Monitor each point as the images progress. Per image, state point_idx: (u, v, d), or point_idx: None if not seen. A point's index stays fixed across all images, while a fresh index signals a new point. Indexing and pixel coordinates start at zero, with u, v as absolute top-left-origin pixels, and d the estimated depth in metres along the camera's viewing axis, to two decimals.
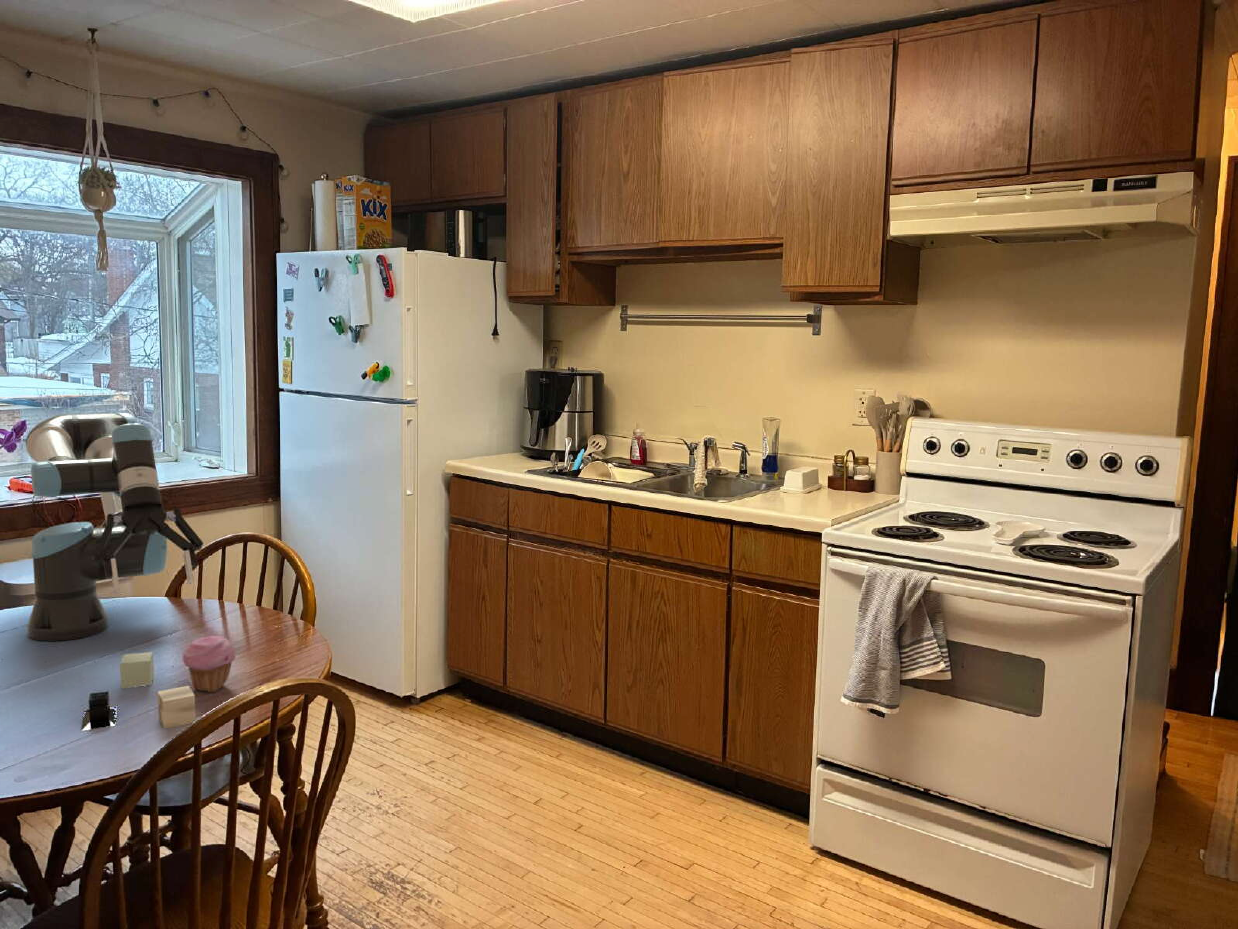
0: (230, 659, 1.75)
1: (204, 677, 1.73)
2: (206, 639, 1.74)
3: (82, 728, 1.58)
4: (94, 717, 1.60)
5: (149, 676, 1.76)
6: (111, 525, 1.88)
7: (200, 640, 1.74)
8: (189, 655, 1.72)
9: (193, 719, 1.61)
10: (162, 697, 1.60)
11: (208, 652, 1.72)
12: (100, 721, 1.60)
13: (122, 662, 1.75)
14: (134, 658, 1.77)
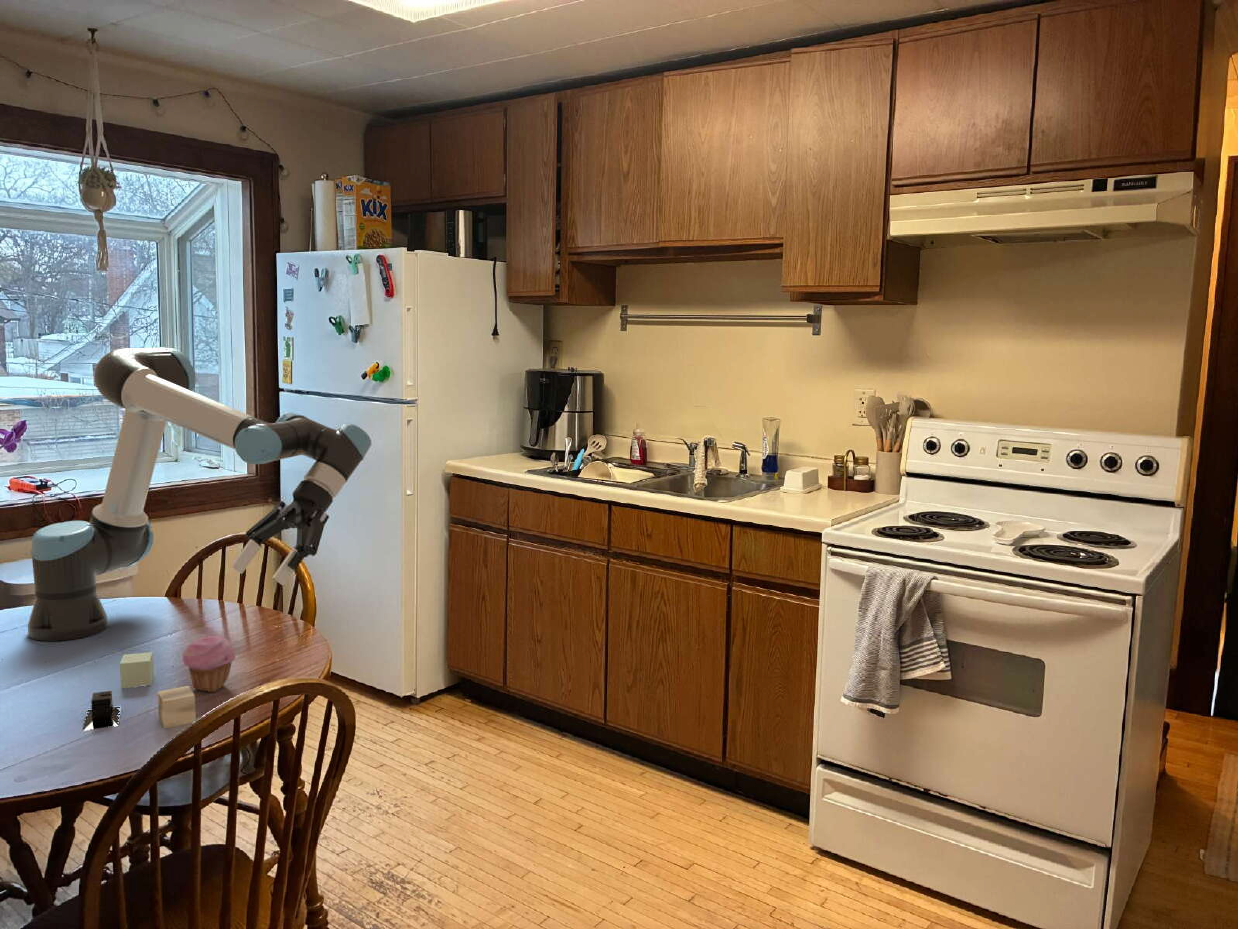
0: (230, 659, 1.75)
1: (204, 677, 1.73)
2: (206, 639, 1.74)
3: (84, 727, 1.58)
4: (97, 717, 1.60)
5: (149, 676, 1.76)
6: None
7: (200, 640, 1.74)
8: (189, 656, 1.72)
9: (193, 719, 1.61)
10: (162, 697, 1.60)
11: (208, 652, 1.72)
12: (102, 721, 1.60)
13: (122, 662, 1.75)
14: (134, 658, 1.77)
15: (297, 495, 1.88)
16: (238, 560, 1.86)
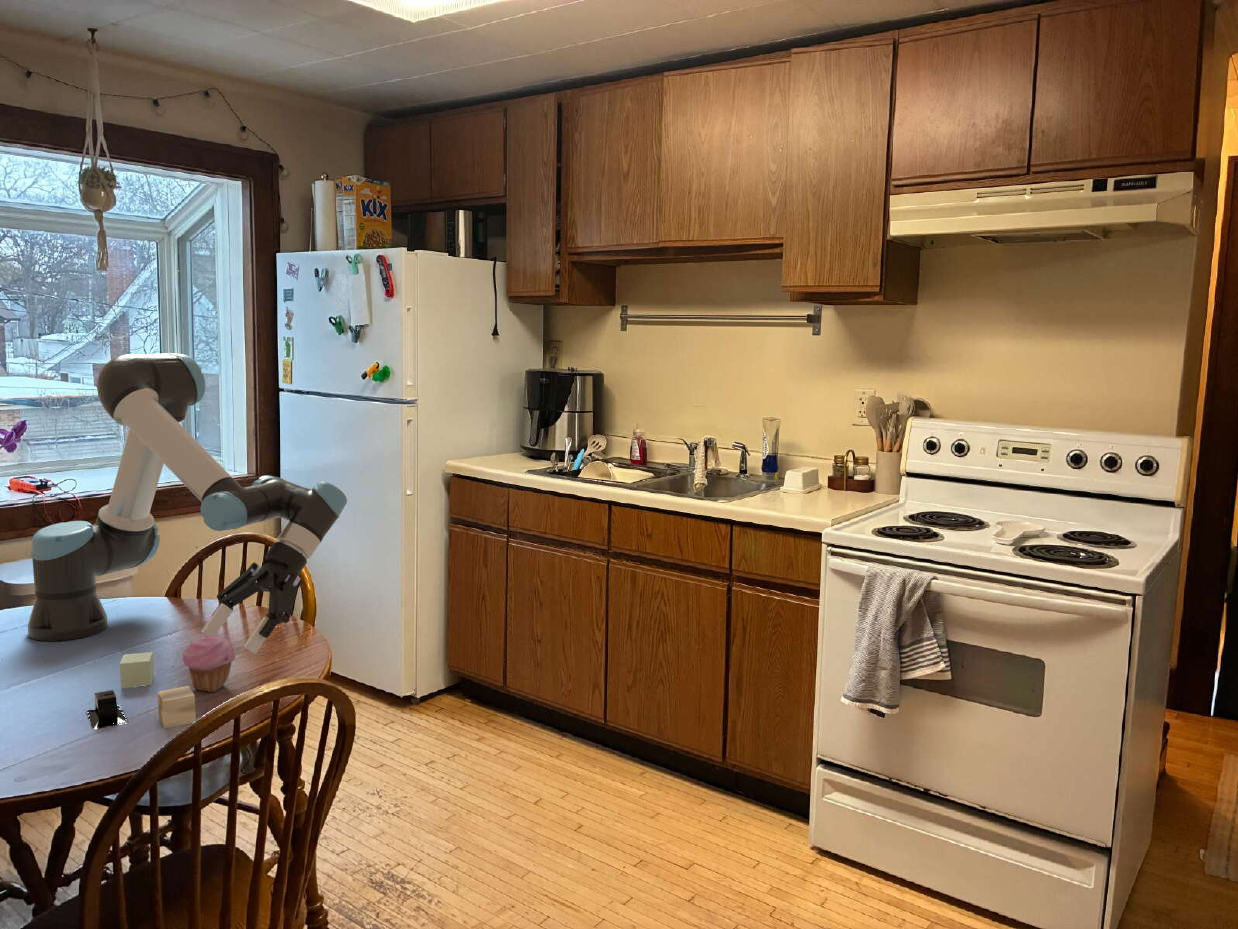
0: (230, 659, 1.75)
1: (204, 677, 1.73)
2: (206, 639, 1.74)
3: (93, 727, 1.58)
4: (103, 716, 1.61)
5: (149, 676, 1.76)
6: None
7: (200, 640, 1.74)
8: (189, 656, 1.72)
9: (193, 719, 1.61)
10: (162, 697, 1.60)
11: (208, 652, 1.72)
12: (109, 719, 1.61)
13: (122, 662, 1.75)
14: (134, 658, 1.77)
15: (270, 558, 1.83)
16: (209, 625, 1.81)
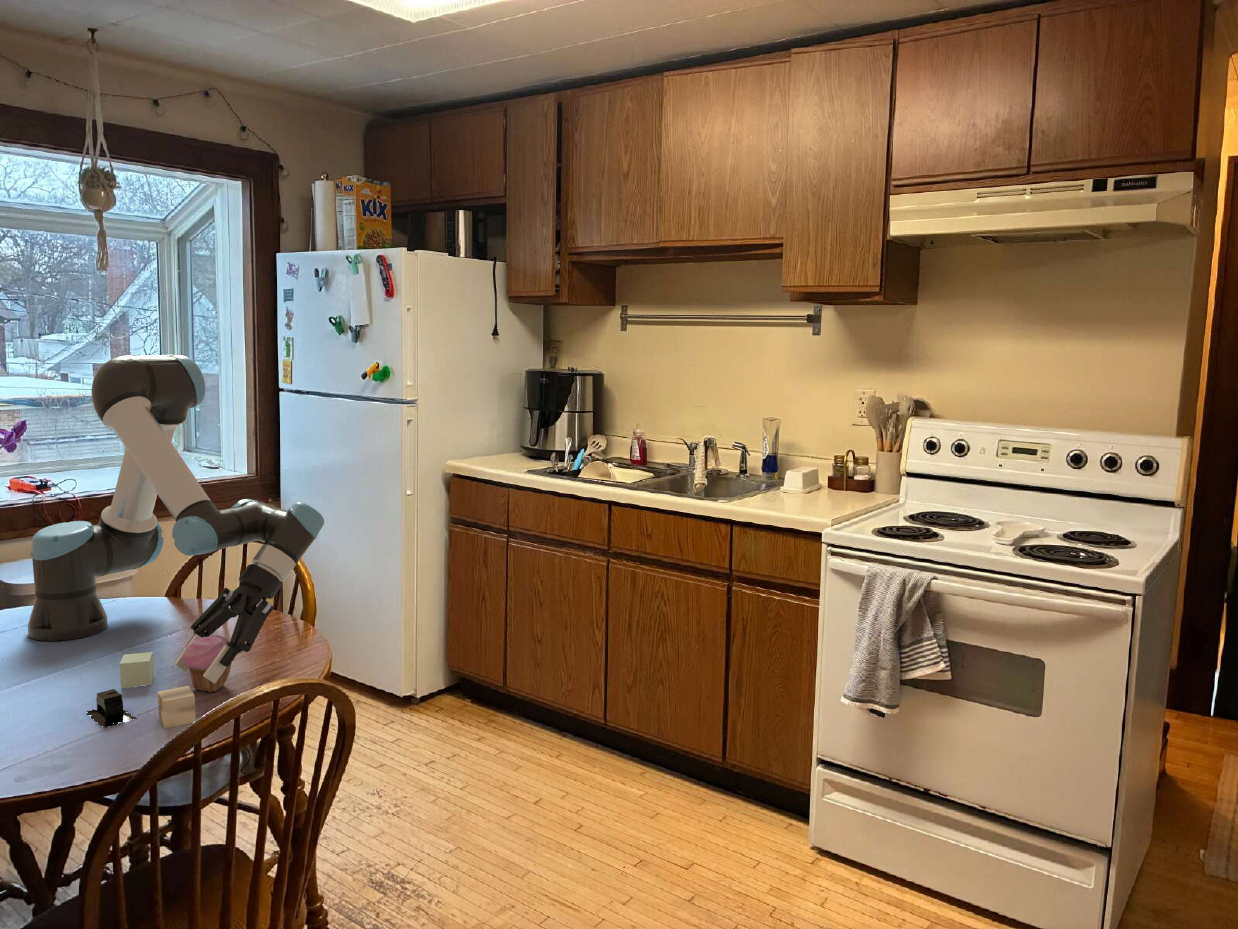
0: None
1: (204, 677, 1.73)
2: (206, 639, 1.74)
3: (103, 726, 1.59)
4: (110, 714, 1.61)
5: (149, 676, 1.76)
6: None
7: (200, 640, 1.74)
8: (189, 655, 1.72)
9: (193, 719, 1.61)
10: (162, 697, 1.60)
11: (208, 652, 1.72)
12: (116, 717, 1.62)
13: (122, 662, 1.75)
14: (134, 658, 1.77)
15: (243, 581, 1.80)
16: (182, 658, 1.76)
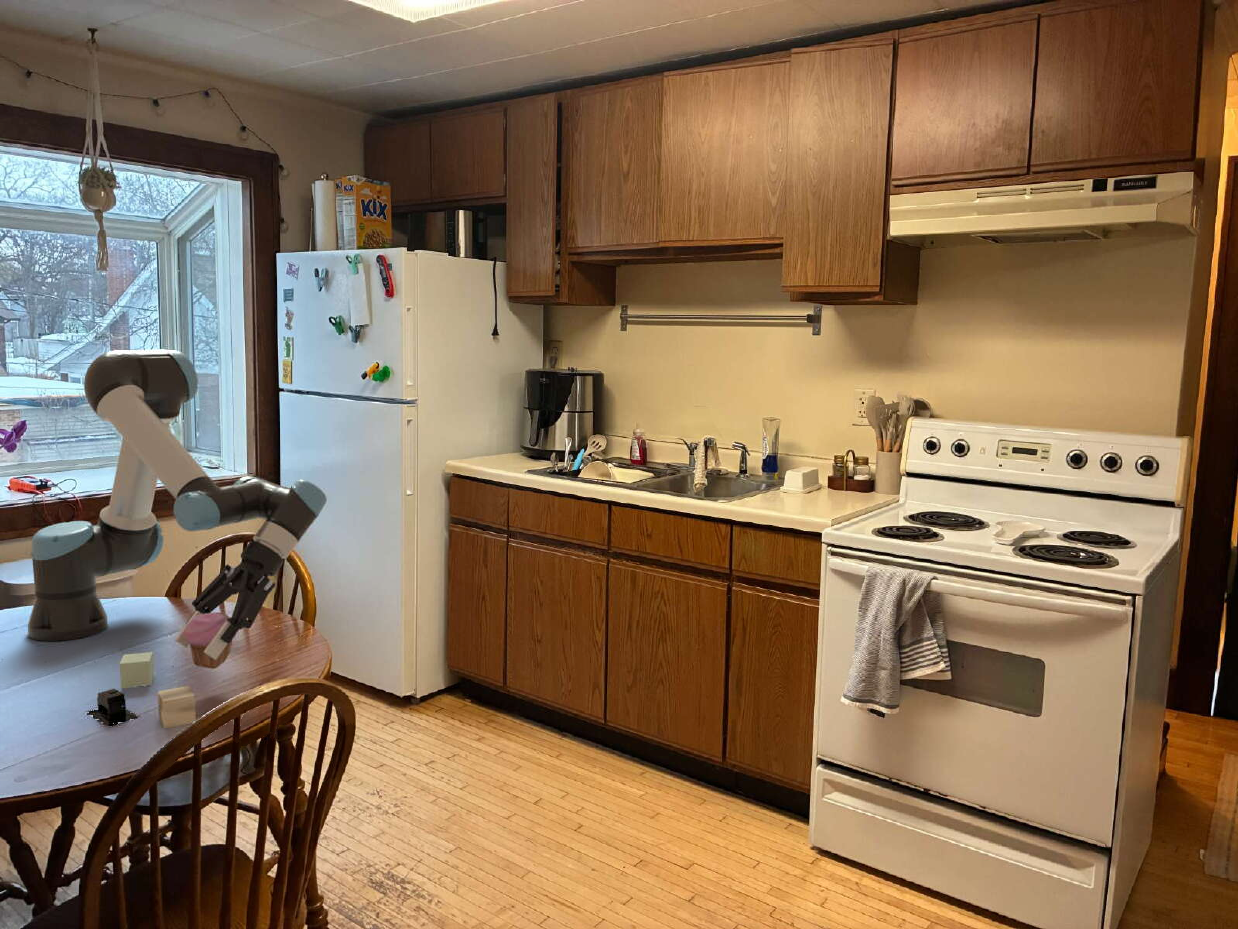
0: None
1: (205, 653, 1.72)
2: (207, 615, 1.73)
3: (107, 725, 1.59)
4: (113, 713, 1.62)
5: (149, 676, 1.76)
6: None
7: (201, 616, 1.73)
8: (190, 631, 1.71)
9: (193, 719, 1.61)
10: (162, 697, 1.60)
11: (209, 629, 1.71)
12: (119, 716, 1.62)
13: (122, 662, 1.75)
14: (134, 658, 1.77)
15: (245, 558, 1.79)
16: (182, 634, 1.75)
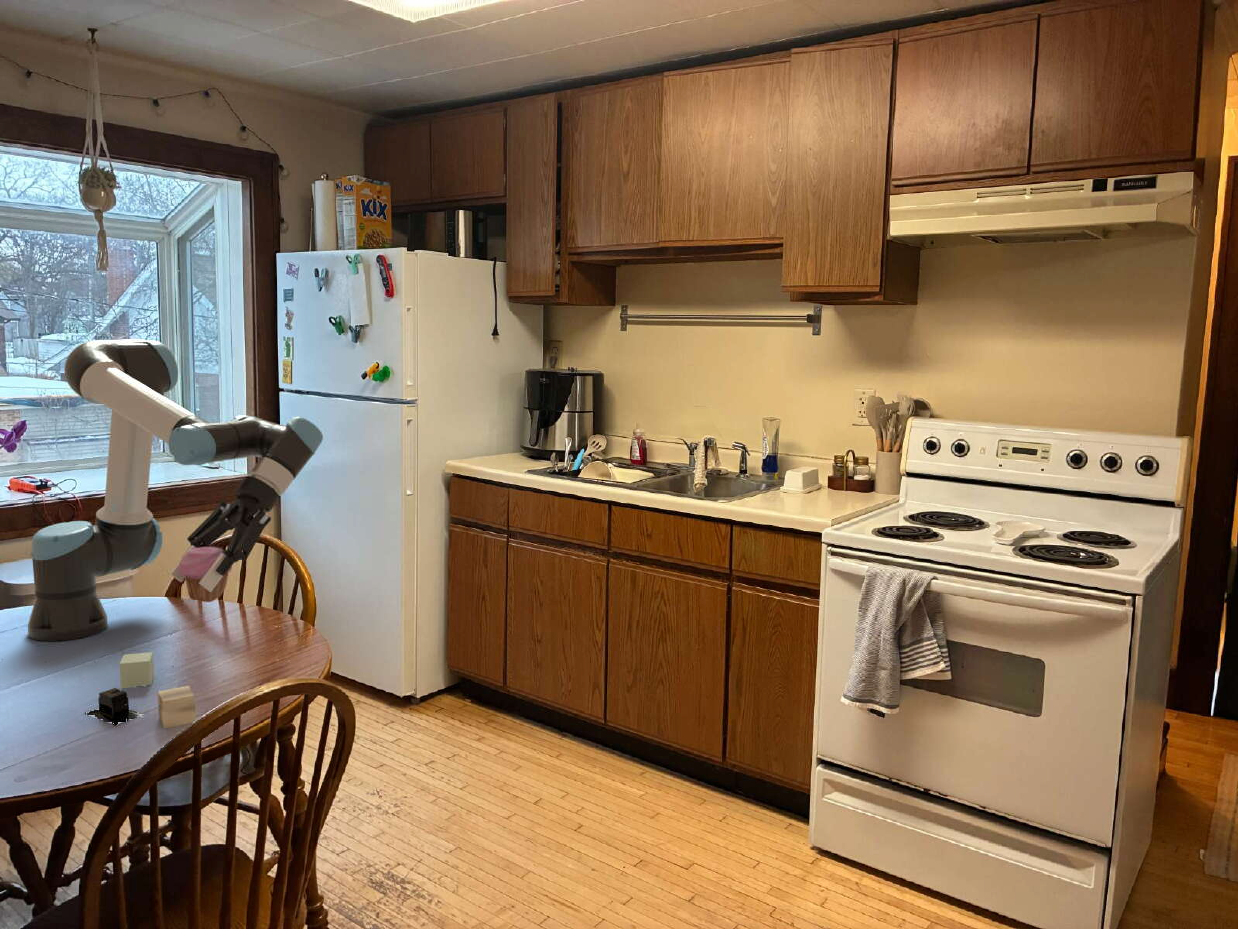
0: None
1: (201, 586, 1.71)
2: (202, 548, 1.72)
3: None
4: (117, 712, 1.62)
5: (149, 676, 1.76)
6: None
7: (196, 549, 1.72)
8: (185, 564, 1.70)
9: (193, 719, 1.61)
10: (162, 697, 1.60)
11: (204, 561, 1.70)
12: (123, 715, 1.63)
13: (122, 662, 1.75)
14: (134, 658, 1.77)
15: (241, 492, 1.78)
16: (178, 567, 1.74)
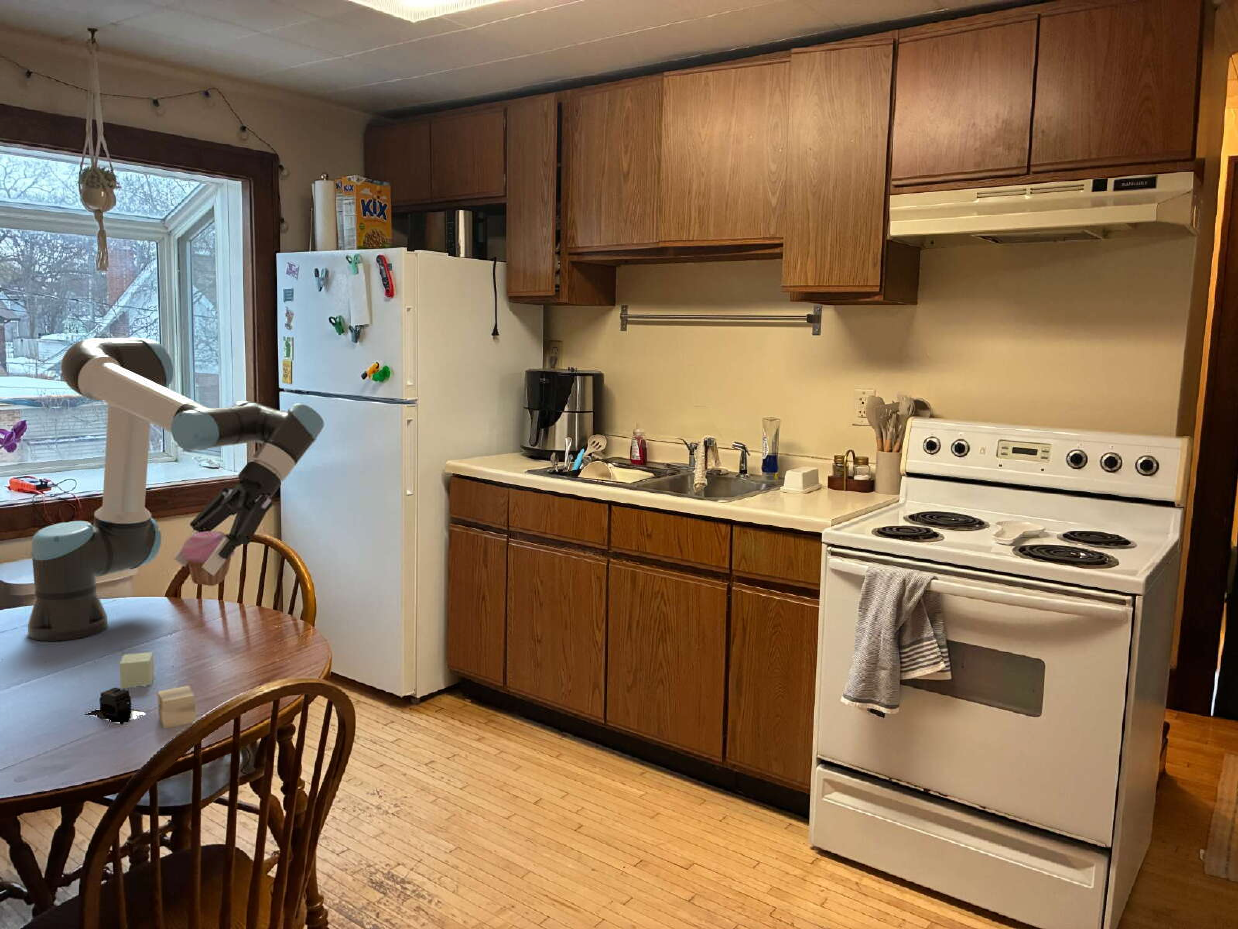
0: None
1: (203, 570, 1.72)
2: (205, 532, 1.73)
3: None
4: (120, 711, 1.63)
5: (149, 676, 1.76)
6: None
7: (199, 534, 1.74)
8: (188, 548, 1.71)
9: (193, 719, 1.61)
10: (162, 697, 1.60)
11: (207, 545, 1.71)
12: (126, 713, 1.63)
13: (122, 662, 1.75)
14: (134, 658, 1.77)
15: (243, 477, 1.79)
16: (180, 552, 1.75)
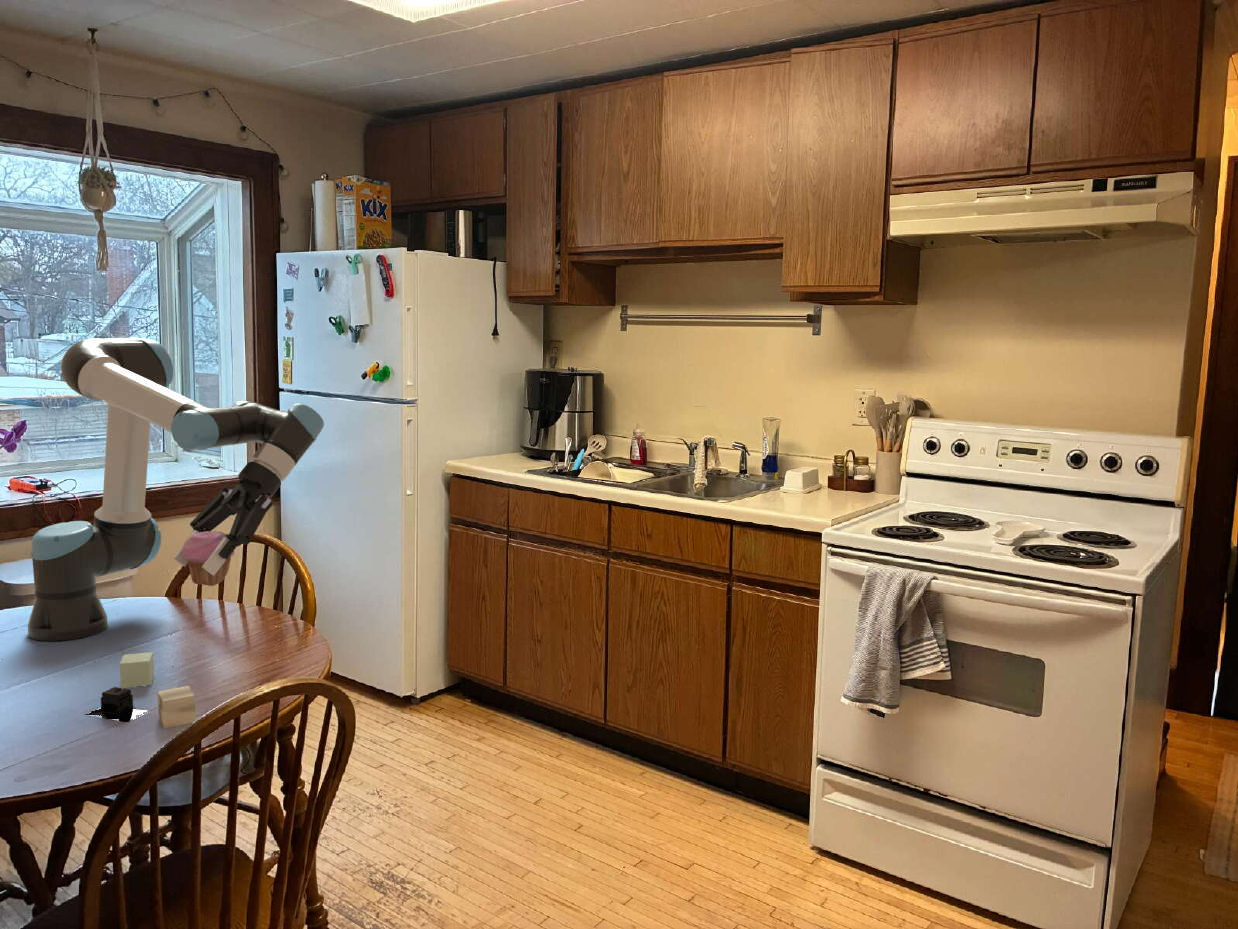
0: None
1: (203, 570, 1.72)
2: (205, 532, 1.73)
3: (123, 720, 1.61)
4: (123, 710, 1.63)
5: (149, 676, 1.76)
6: None
7: (199, 534, 1.74)
8: (188, 548, 1.71)
9: (193, 719, 1.61)
10: (162, 697, 1.60)
11: (207, 545, 1.71)
12: (129, 712, 1.64)
13: (122, 662, 1.75)
14: (134, 658, 1.77)
15: (243, 477, 1.79)
16: (180, 552, 1.75)
